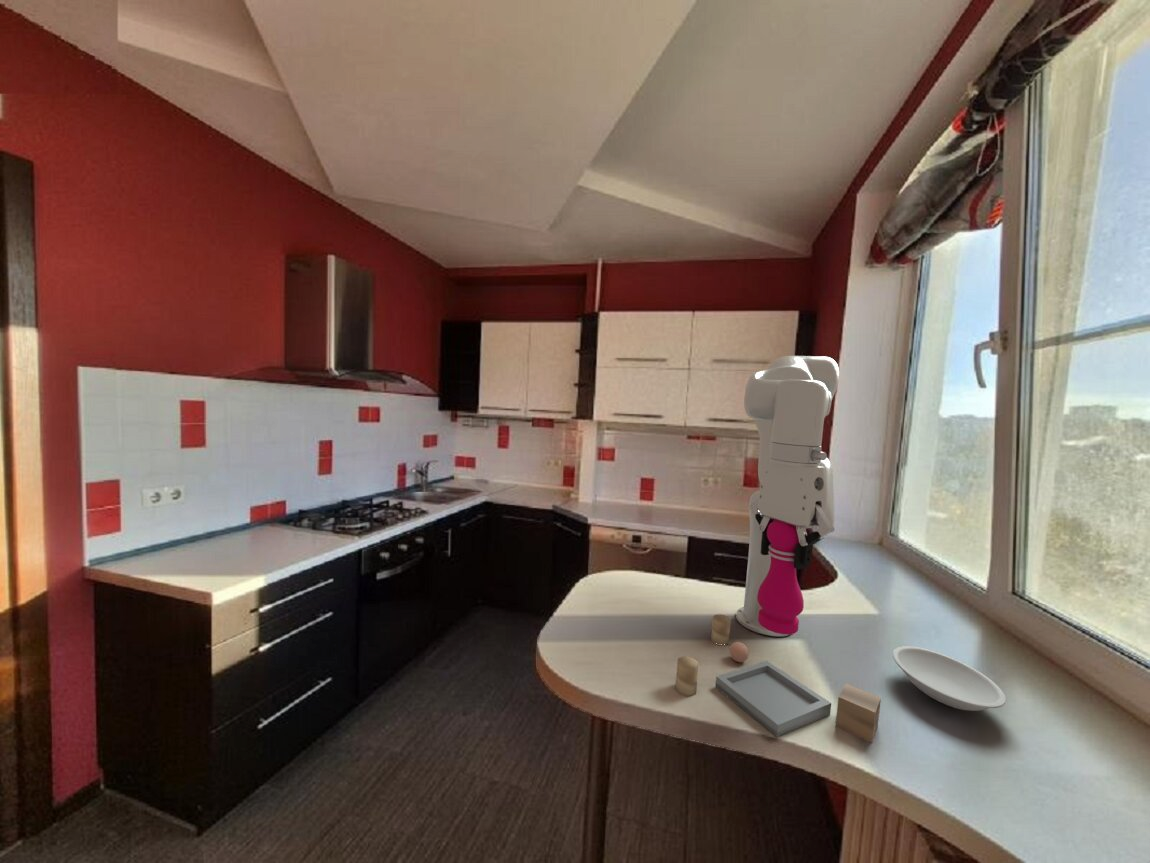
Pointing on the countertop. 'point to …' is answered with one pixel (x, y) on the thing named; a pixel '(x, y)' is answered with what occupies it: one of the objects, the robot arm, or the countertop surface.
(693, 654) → the countertop surface
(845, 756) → the countertop surface
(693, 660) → the cork
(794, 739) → the countertop surface
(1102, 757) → the countertop surface
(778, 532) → the pepper mill
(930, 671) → the dish
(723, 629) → the cork
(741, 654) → the ball
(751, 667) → the tray
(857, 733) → the walnut block
